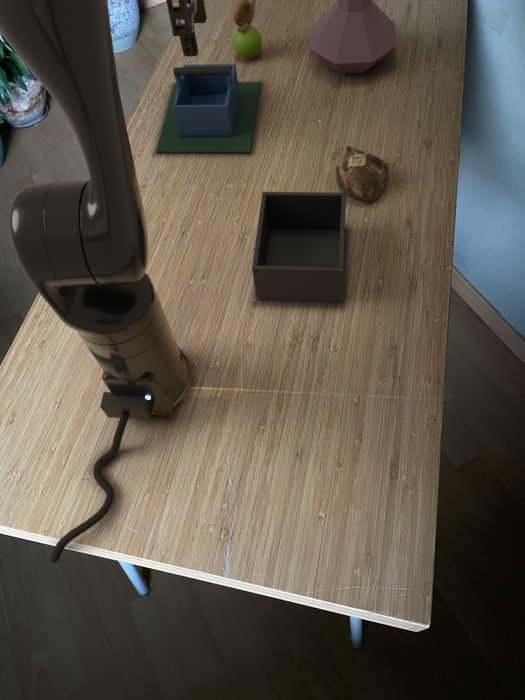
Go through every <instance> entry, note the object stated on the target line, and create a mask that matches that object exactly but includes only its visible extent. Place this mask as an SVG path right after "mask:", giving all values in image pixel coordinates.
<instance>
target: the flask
mask: <svg viewBox="0 0 525 700" xmlns="http://www.w3.org/2000/svg"><path fill="white" fill-rule="evenodd" d="M397 46H398V37H397V28H396V23H395V22H394V21H393V20H392V19H391V18H390V17H389V16H388V15H387V14H386V13H384V11H383V10H381V8H379V6H378V5H377V3H375V1H374V0H336V1H335V2H334V3H333V5H332V6H331V7H330V8H329V9H328V10H327V11H326V13H324V14H323V15H322V16H321V17H320V18H319V19H317V21H316V22H314V24H312V26H311V27H309V47H308V50H309V51H310V52H312V54H313V55H315V57H317V58H318V59H319V60H320V61H322V62H323V63H324V64H325V65H326V66H327V67H329V68H331V69H332V70H334V71H336V72H338V73H339V74H341V75H353V74H354V75H355V74H363V73H365V72H366V71H368V70H369V69H370V68H372V67H373V66H375V65H376V64H378V63H379V62H380V61H381V60H382V59H383V58H384V57H385V56H387V55H388V54H389V53H390V52H391V51H392V50H394V48H396V47H397Z"/></svg>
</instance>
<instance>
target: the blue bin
mask: <svg viewBox="0 0 525 700" xmlns="http://www.w3.org/2000/svg"><path fill="white" fill-rule="evenodd" d="M237 71H238V70H237V65H236V63H212V64H210V63H209V64H208V63H206V64H205V63H204V64H203V63H202V64H183V66H180V67H179V66H178V67H173V76H174V80H175V83H176V85H177V87H178V88H177V92H176V96H175V100H174V104H173V111H174V115H175V119H176V123H177V127H178V131H179V135H180V137H232V135H233V129H234V124H235V118H236V113H237V107H238V101H239V96H240V93H239V86H238V82H239V79H238V72H237Z"/></svg>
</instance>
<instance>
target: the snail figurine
mask: <svg viewBox="0 0 525 700" xmlns="http://www.w3.org/2000/svg"><path fill="white" fill-rule="evenodd" d="M255 10H256V0H238V2H237V3H236V5H235V7H234V11H233V21H234V23H235V25H236V26H238V27H237V28H236V30H235V32H234V33H233V35H232V43H231V44H232V48H233V50H234V52H235V53H236V54H237V55H238V56H239V57H240V58H243V59H252V58H255V57H256V56H257V55H258V54H259V52H260V51H261V50H262V44H263V40H262V35H261V33H260V31H259V30H258V29H257V28H256V27H254V26H252V25H251V24H252V22H253V20H254V18H255V12H256V11H255Z"/></svg>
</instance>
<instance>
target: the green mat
mask: <svg viewBox="0 0 525 700" xmlns="http://www.w3.org/2000/svg"><path fill="white" fill-rule="evenodd" d="M238 86H239V93H240V96H239V101H238V107H237V113H236V118H235V124H234V129H233V135H232V137H180V135H179V131H178V127H177V123H176V119H175V115H174V111H173V104H174V100H175V96H176V92H177V88H178V87H177V85H176V82H175V83H173V86H172V91H171V95H170V97H169V101H168V106H167V109H166V110H167V111H166V113H165V116H164V121H163V124H162V128H161V131H160V135H159V139H158V143H157V147H156V151H155V153H156V154H158V155H161V154H162V155H167V154H168V155H171V154H172V155H173V154H174V155H176V154H177V155H179V154H180V155H185V154H186V155H187V154H188V155H192V154H193V155H196V154H197V155H199V154H201V155H208V154H209V155H219V154H220V155H221V154H222V155H248V154H249V155H250V154H252V148H253V140H254V139H253V138H254V133H255V127H256V120H257V114H258V107H259V100H260V95H261V87H262V82H261V81H248V82H247V81H245V82H244V81H243V82H239V81H238Z"/></svg>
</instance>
